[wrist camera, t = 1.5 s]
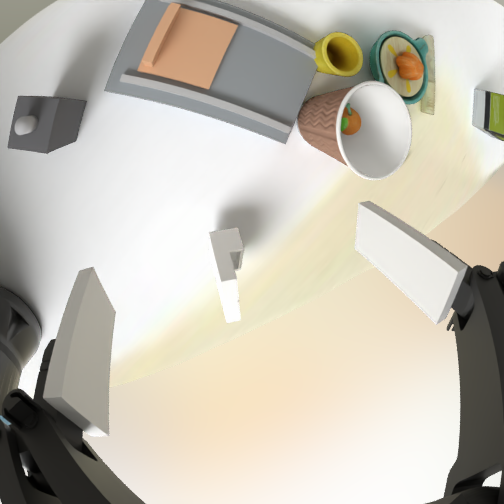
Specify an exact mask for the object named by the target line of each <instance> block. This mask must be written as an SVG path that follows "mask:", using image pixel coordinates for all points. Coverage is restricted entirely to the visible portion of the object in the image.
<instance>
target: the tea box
mask: <svg viewBox="0 0 504 504" xmlns="http://www.w3.org/2000/svg"><path fill="white" fill-rule="evenodd" d="M472 125H473V126H475V127H477V128H478V129H480V130H482V131H483V132H485V133H486V134H488V135H490V136H491V137H493V138H496V139H499V140H502V141H504V95H502V94H497V93H493V92H488V91H484V90H478V89H475V90H474V104H473V121H472Z"/></svg>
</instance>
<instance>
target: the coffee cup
mask: <svg viewBox="0 0 504 504" xmlns="http://www.w3.org/2000/svg"><path fill="white" fill-rule="evenodd" d="M347 103H350V107H351V108H353V109H354V110H355V111H356V112H357V113H358V114H359V116H360V118H361V127H360V129H359V131H357V132H356V133H355V134H352V135H345V134H343V133H342V132H341V119H342V115H343V111H344V108H345V106H346V104H347ZM297 125H298V129H299V132H300V134H301V136H302V137H303V138H304V139H305V140H306V141H307V142H308V143H309V144H311V146H313V147H315V148H317V149H319V150H320V151H322V152H324V153H326V154H328V155H329V156H331V157H333V158H335V159H337V160H338V161H340V162H342V163H343V164H345V165H347V166H349V168H350V169H351V170H352V171H353V172H354V173H356V174H357V175H359V176H360V177H362V178H365V179H368V180H380V179H384V178H387V177H389V176H390V175H392V174H393V173H395V172H396V171H397V170H398V169H399V168H400V167H401V165H402V164H403V162H404V161H405V159H406V157H407V155H408V152H409V149H410V145H411V140H412V124H411V118H410V114H409V111H408V108H407V106H406V104H405V102H404V101H403V99H402V98H401V96H400V95H399V94H398V93H397V92H396V91H395V90H394V89H393V88H391V87H390V86H388V85H387V84H384V83H382V82H378V81H366V82H362V83H360V84H358V85H356V86H354V87H350V88H345V89H341V90H337V91H334V92H330V93H326V94H322V95H319V96H316V97H313V98H311V99H310V100H308V101H306V102H305V103H304V104H303V105H302V107H301V108H300V111H299V113H298V117H297ZM365 174H366V175H365ZM368 175H369V176H368Z"/></svg>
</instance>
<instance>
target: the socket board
mask: <svg viewBox="0 0 504 504" xmlns="http://www.w3.org/2000/svg"><path fill="white" fill-rule="evenodd" d="M171 2H172V3H176V4H180V5H181V6H180V8H184V9H188V10H191V11H195V12H199V13H202V14H205V15H209V16H212V17H215V18H218V19H221V20H224V21H227V22H230V23H233V24H235V25H238V27H237V29H236V31H235V33H234V35H233V37H232V39H231V41H230V43H229V45H228V47H227V49H226V52H225V54H224V56H223V58H222V60H221V62H220V65H219V67H218V69H217V71H216V74H215V76H214V78H213V81H212V83H211V85H210V88H209V89H208V90H207V89H204V88H201V87H198V86H194V85H191V84H187V83H184V82H180V81H177V80H173V79H169V78H165V77H161V76H157V75H153V74H148V73H144V72H139V71H137V70H138V67H139V65H140V63H141V60H142V58H143V56H144V53H145V51H146V49H147V47H148V45H149V42H150V40H151V38H152V36H153V34H154V32H155V30H156V28H157V26H158V24H159V22H160V21H161V19H162V17H163V15H164V13H165V11H166V10H167V8H168V6H169V5H170V4H171ZM314 46H315V44H314V43H312V42H311V41H309V40H307V39H305V38H303V37H301V36H300V35H298V34H296V33H294V32H292V31H290V30H288V29H286V28H284V27H282V26H280V25H278V24H276V23H274V22H271V21H269V20H267V19H265V18H262V17H260V16H258V15H255V14H253V13H250V12H248V11H245V10H243V9H240V8H237V7H235V6H232V5H229V4H226V3H223V2H220V1H217V0H146V1H145V3H144V4H143V6H142V8H141V10H140V11H139V13H138V15H137V17H136V19H135V21H134V23H133V25H132V27H131V29H130V31H129V33H128V35H127V37H126V39H125V41H124V43H123V45H122V47H121V50H120V52H119V54H118V57H117V59H116V61H115V64H114V66H113V69H112V71H111V74H110V77H109V79H108V82H107V85H106V88H105V90H104V91H107V92H111V93H117V94H122V95H127V96H132V97H137V98H141V99H146V100H150V101H154V102H158V103H162V104H166V105H170V106H174V107H178V108H181V109H185V110H188V111H192V112H195V113H199V114H202V115H205V116H208V117H212V118H215V119H218V120H221V121H224V122H227V123H230V124H233V125H236V126H238V127H241V128H244V129H247V130H249V131H252V132H255V133H258V134H260V135H263V136H265V137H268V138H270V139H273V140H275V141H278V142H281V143H284V144H286V142H287V139H288V137H289V135H290V132H291V130H292V127H293V125H294V123H295V120H296V118H297V115H298V113H299V111H300V108H301V106H302V103H303V101H304V99H305V96H306V94H307V91H308V89H309V87H310V84H311V82H312V79H313V77H314V75H315V72H316V70H317V68H318V66H317V64H316V62H315V60H314V59H315V58H316V54H315V51H314V50H313V48H314Z"/></svg>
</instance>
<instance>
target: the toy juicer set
mask: <svg viewBox="0 0 504 504" xmlns="http://www.w3.org/2000/svg"><path fill="white" fill-rule="evenodd" d="M313 50H314V51H315V54H316V58H315V59H314V60H315V62H316V64H317V66H318V68H317V71H318V72H321V73H326V74H332V75H338V76H345V77H350V76H353V75H355V74H357V73H358V72H359V71H360V69H361V67H362V64H363V54H362V50H361V48H360V46H359V44H358V43H357V42H356V41H355V40H354V39H353V38H352V37H351V36H349V35H347V34H345V33H341V32H334V33H331V34H329V35H327V36H326V37H324V38H322V39H321V40H319V41H318V42H316V43H315V46H314V48H313ZM370 67H371V71H372V74H373V76H374V78H375V80H376V81H378V82H382V83H384V84H387V85H388V86H390V87H391V88H393V89H394V90H395V91H396V92H397V93H398V94H399V95H400V96H401V98H402V99H403V101H404V102H405V104H414V103H416V102H418V101H419V100H420V99H421V98H422V99H421V112H423V113H427V114H431V115H434V106H435V57H434V40H433V36H431V35H426V36H424V37H423V38H417V39H416V40H413V39H412V38H410V37H409V36H408V35H406V34H405V33H402V32H400V31H388V32H385V33H384V34H382V35H381V36H380V38H379V39H378V40H377V41H376V43H375V44H374V46H373V47H372V49H371V52H370ZM360 127H361V118H360V116H359V114H358V113H357V112H356V111H355V110H354V109H353V108H351V107H350V103H347V104H346V106H345V108H344V111H343V115H342V119H341V132H342V133H343V134H345V135H352V134H355V133H356V132H357V131H359V129H360Z"/></svg>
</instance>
